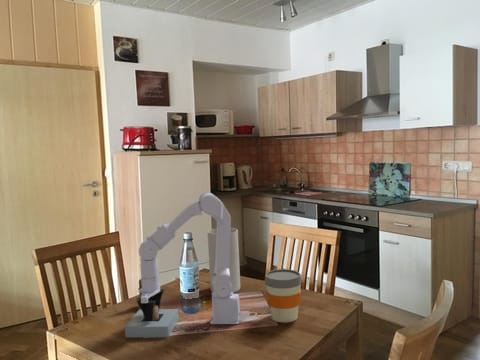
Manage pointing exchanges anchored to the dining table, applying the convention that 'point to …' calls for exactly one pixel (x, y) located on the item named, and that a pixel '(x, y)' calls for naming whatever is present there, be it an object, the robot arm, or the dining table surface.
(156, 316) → the walnut peg
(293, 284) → the reusable coffee cup
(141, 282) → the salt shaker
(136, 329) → the socket block
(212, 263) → the cylinder vase
